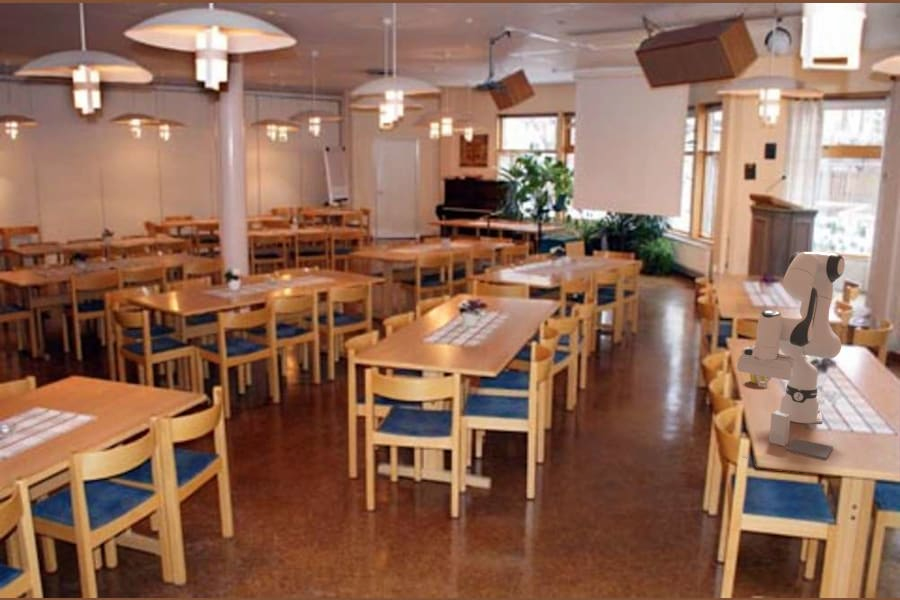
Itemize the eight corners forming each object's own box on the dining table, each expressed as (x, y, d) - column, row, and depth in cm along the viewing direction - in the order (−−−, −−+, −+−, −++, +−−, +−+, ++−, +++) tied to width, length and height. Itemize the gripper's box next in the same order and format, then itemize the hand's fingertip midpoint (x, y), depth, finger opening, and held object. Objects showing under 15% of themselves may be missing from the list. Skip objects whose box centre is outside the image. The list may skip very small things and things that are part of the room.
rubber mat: (794, 440, 309) (794, 438, 309) (832, 449, 301) (833, 446, 301) (786, 451, 298) (786, 448, 298) (826, 460, 290) (826, 457, 290)
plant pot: (755, 378, 394) (757, 359, 392) (773, 384, 385) (775, 364, 383) (742, 381, 389) (744, 362, 387) (759, 386, 380) (761, 367, 378)
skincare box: (788, 444, 305) (791, 414, 303) (783, 446, 302) (787, 417, 300) (772, 439, 309) (775, 410, 307) (768, 442, 306) (771, 413, 304)
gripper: (796, 355, 300) (792, 389, 303) (742, 346, 312) (738, 379, 314) (793, 358, 295) (788, 393, 298) (737, 349, 307) (734, 383, 309)
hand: (762, 386), depth 306 cm, fingers closed
